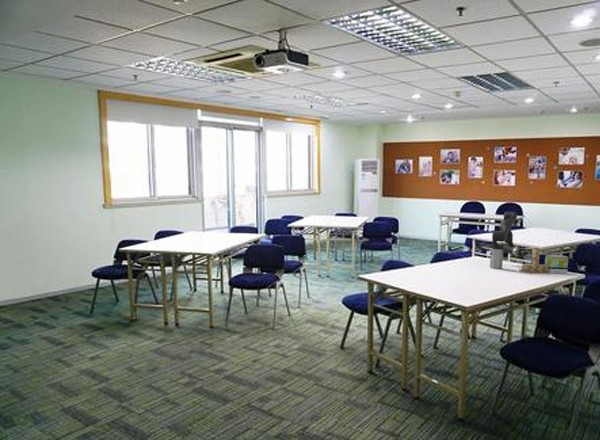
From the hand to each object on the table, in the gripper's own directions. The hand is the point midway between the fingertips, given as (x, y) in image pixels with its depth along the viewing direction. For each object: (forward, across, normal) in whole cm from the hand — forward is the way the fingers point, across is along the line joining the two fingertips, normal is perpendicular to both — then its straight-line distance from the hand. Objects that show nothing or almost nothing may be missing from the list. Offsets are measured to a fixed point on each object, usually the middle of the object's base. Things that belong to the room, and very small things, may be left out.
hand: (530, 254), depth 400 cm
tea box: (+8, +19, +15) cm, 25 cm away
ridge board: (+6, 0, +14) cm, 16 cm away
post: (+6, 0, +8) cm, 11 cm away
